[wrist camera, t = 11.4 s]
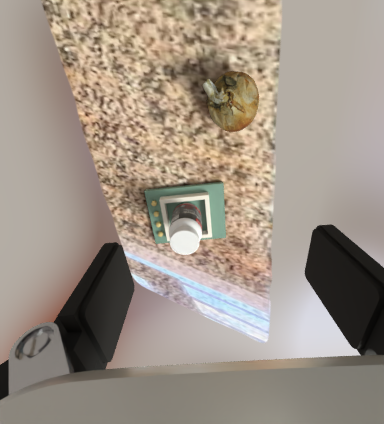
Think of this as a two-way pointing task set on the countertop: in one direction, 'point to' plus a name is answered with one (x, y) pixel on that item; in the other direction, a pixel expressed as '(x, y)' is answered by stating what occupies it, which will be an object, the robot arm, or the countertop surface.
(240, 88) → the onion
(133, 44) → the countertop surface
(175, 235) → the pill bottle
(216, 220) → the board
